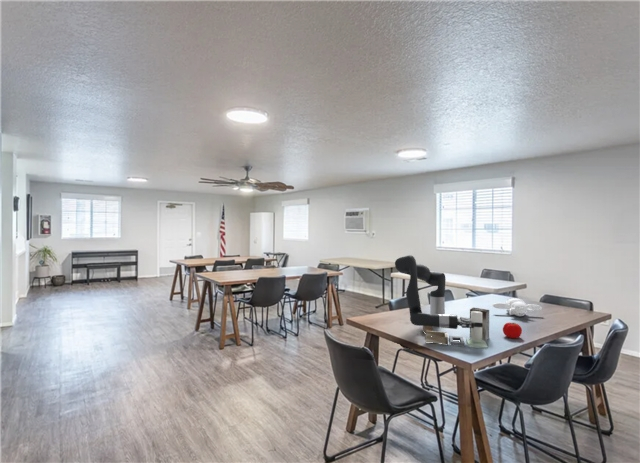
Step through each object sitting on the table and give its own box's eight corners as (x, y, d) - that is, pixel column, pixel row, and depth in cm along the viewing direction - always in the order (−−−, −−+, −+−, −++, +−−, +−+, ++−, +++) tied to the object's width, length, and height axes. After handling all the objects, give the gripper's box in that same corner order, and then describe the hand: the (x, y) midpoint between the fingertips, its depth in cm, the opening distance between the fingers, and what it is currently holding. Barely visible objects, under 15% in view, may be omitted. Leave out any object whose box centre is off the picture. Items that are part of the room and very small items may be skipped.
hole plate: (449, 338, 196) (449, 335, 196) (462, 339, 194) (462, 336, 194) (450, 345, 184) (450, 342, 184) (464, 346, 182) (464, 343, 182)
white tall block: (470, 338, 189) (470, 310, 190) (481, 339, 188) (481, 311, 188) (471, 341, 184) (471, 312, 184) (483, 342, 182) (483, 313, 182)
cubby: (426, 336, 200) (426, 330, 200) (446, 338, 196) (446, 332, 196) (425, 343, 188) (425, 336, 188) (447, 345, 184) (447, 338, 184)
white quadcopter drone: (490, 313, 255) (490, 298, 255) (511, 308, 271) (511, 294, 271) (525, 321, 234) (526, 304, 234) (546, 315, 251) (546, 300, 251)
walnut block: (423, 332, 209) (423, 322, 209) (430, 332, 209) (430, 322, 209) (425, 334, 205) (425, 324, 205) (432, 334, 204) (432, 324, 204)
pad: (466, 340, 193) (466, 338, 193) (484, 341, 190) (484, 340, 190) (468, 346, 182) (468, 345, 182) (487, 348, 179) (487, 346, 179)
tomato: (500, 337, 197) (500, 322, 198) (506, 333, 205) (506, 319, 205) (518, 341, 191) (518, 325, 191) (524, 337, 198) (524, 322, 198)
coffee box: (469, 337, 198) (469, 309, 198) (473, 334, 203) (472, 307, 203) (486, 340, 192) (486, 311, 192) (489, 337, 197) (489, 309, 197)
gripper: (448, 317, 183) (483, 319, 178) (447, 311, 197) (479, 313, 192) (448, 331, 183) (483, 334, 178) (447, 324, 197) (479, 327, 192)
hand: (481, 323), depth 185 cm, fingers closed on white tall block, 5 cm apart
